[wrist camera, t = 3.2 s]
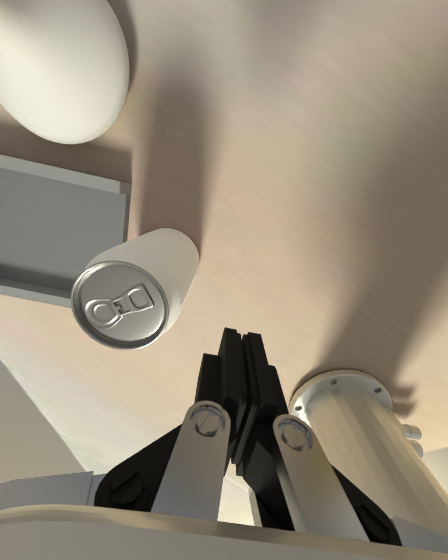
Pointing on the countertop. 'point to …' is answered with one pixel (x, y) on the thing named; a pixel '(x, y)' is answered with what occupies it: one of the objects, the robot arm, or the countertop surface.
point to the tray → (55, 226)
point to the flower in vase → (62, 67)
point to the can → (135, 289)
